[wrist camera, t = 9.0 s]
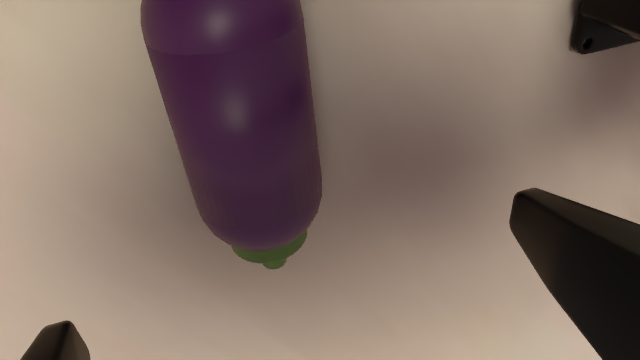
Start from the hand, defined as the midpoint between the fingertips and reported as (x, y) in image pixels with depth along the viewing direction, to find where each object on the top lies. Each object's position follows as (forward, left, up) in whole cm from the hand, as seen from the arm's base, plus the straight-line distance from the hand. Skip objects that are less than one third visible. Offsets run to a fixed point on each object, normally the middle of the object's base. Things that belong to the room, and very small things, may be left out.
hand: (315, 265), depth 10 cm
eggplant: (0, 0, -10) cm, 10 cm away
